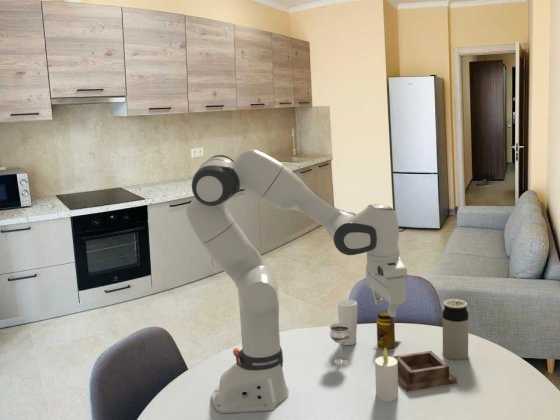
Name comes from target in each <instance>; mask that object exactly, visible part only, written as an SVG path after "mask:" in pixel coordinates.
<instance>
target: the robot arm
mask: <svg viewBox="0 0 560 420" xmlns="http://www.w3.org/2000/svg"><path fill="white" fill-rule="evenodd" d="M240 190H245V191H248V192H250V193H251V194H253V195H254V196H255V197H258V199H260V200H261V201H263V202H264V203H266V204H268V205H270V206H271V207H272V208H273V207H274V208H276V209H279V210H281V211H296V212H300V213H302V214H304V215H306V216H307V217H308V218H311V219H312V220H313V221H315V222H316V223H318V224H319V225H321V226H322V227H324V228H325V230H326V231H327V232H328V234H329V236H330V237H331V239H332V242H333V244H334V246H335V248H336V250H337V251H338V252H340V253H342V255H346V256H356V255H360V254H365V253H366V265H365V283H366V285H367V286H368V287H369V288H370V289H371V290H372V295H373V298H374V304H376V306H382V305H383V300H385V301H386V302H387V303H388V309H387V311H388V315H389V316H390V317H393V318H395V317H396V316H397V309H398V307H399V306H402V305H405V303H406V300H407V281H406V276H408V269H407V266H406V265H405V263H403V261H402V257H400V255H401V254H400V247H399V239H400V230H399V221H398V215H397V212H396V210H395V209H394V208H393V207H390V206H389V205H386V204H379V203H371V204H369V205H367V207H366V208H364V209H362V211H360V212H358V213H354V212H352V211H349V210H344V209H343V210H342V209H339V208H336V207H335V206H333V205H331V204H330V203H329V202H327V201H325V200H324V199H322V198H321V197H320V196H318V195H317V194H315V193H314V192H313V191H311V189H310V188H309V187H308V186H307V185H306V183H305V182H304V181H303V179H301V178H300V177H299V176H298V175H297V174H296V173H295V172H294V171H293V170H291V169H290V168H288V167H287V166H286V165H284V164H283V163H282V162H280V161H279V160H277V159H276V158H274V157H271V156H270V155H268V154H266V153H264V152H262V151H259V150H257V149H253V148H250V149H249V148H248V149H246V150H245V151H243V152H241V153H240V154H239V156H238V157H236V159H233V158H232V157H229V155H228V156H227V155H224V154H217V155H214V156H212V157H210V158H209V159H207V160H206V161H204V162H203V163H202V164H201V165H200V166H199V168H198V170H197V171H196V172H195V174H194V175H193V178H192V180H191V191H192V194H193V197H194V198H193V199H192V200H191V202H190V203H189V204H188V206H187V208H186V211H185V213H186V217H187V219H188V220H187V221H189V223H190V226H191V228H192V230H193V231H194V233H195V235H196V236H197V238H198V240H199V241H200V242H201V243H202V245H203V247H204V248H205V250H206V251H207V252H208V253H209V255H210V256H211V257H212V259H213V260H214V262H215V263H216V264H217V266H218V267H219V268H220V269H222V270H223V271H224V272H225V273H226V274H227V276H228V277H229V278H230V279H231V280H232V281H233V283H234V284H235V286H236V288H237V291H238V292H237V293H238V303H239V305H238V306H239V320H240V334H241V336H240V337H241V345H242V346H241V348H242V349H241V350H240V349H239V348H238V347H236V348H235V347H234V349H233V350H232V353H233V356H234V357H235V361H236V362H235V363H234V364H233V365H232V366H231V367H230V368H228V369H227V370H226V371H224V372H223V373H222V374H221V377H220V380H219V384H218V386H217V387H215V388H214V389H213V392H212V395H211V402H212V405H213V408H214V410H215V411H217V412H218V413H220V414H231V413H249V412H251V413H252V412H267V411H270V412H271V411H273V410H274V409H275V408H276V407H277V405H279V404H280V403H282V402H283V401H284V400H286V399H287V397H288V396H289V388H288V386H287V383H286V380H285V375H284V370H283V365H284V355H283V349H282V347H281V336H280V335H281V334H280V299H279V295H280V294H279V287H278V284H277V283H278V282H277V280H276V277H275V274H274V271H273V270H272V268H271V267H270V266H269V264H268V263H267V261H266V260H265V259H264V258H263V256H262V255H261V254H260V253H259V251H258V250H257V248H255V246H254V245H253V244H252V243H251V242H250V240H249V239H248V237H247V235H246V234H245V233H244V231H243V230H242V229H241V227H240V225H239V224H238V223H237V222H236V220H235V219H234V217H233V216H232V214H231V213H230V211H229V210H228V207H227V205H226V202H227V201H229V200H230V199H231V198H232V197H233V196H235V195H236V194H238V192H239V191H240Z"/></svg>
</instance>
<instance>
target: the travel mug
mask: <svg viewBox="0 0 560 420" xmlns="http://www.w3.org/2000/svg"><path fill="white" fill-rule="evenodd" d="M443 307H444V309H443V310H442V355H443V356H444V357H446V358H447V359H450V360H456V361H457V360H458V361H459V360H460V361H461V360H463V359H464V360H465V359H466V358H467V357H469V312H468V310H467V307H468V303H467V302H466V300H463V299H455V298H452V299H446V300H444V301H443Z"/></svg>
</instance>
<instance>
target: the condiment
mask: <svg viewBox="0 0 560 420" xmlns="http://www.w3.org/2000/svg"><path fill="white" fill-rule="evenodd" d="M395 325H396V324H395V321H394V317H390V316H389V315H388V310H387V311H384V310H383V311H380V312H378V313H377V320H376V339H377V343H376V344H375V346H374V347H373V349H375V350H381V351H384V349H385V348H386V349H387V352H389V351H391V352H395V351H396V350H397V348H398V346H399V345H400V343H401V341H400V340H396V337H395V336H396V334H395V332H396V329H395Z"/></svg>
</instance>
